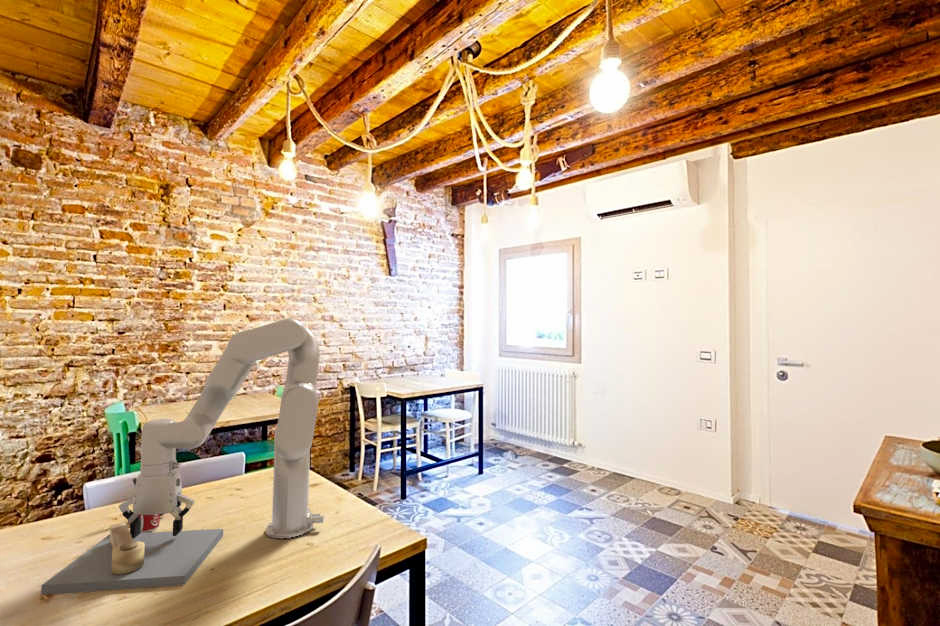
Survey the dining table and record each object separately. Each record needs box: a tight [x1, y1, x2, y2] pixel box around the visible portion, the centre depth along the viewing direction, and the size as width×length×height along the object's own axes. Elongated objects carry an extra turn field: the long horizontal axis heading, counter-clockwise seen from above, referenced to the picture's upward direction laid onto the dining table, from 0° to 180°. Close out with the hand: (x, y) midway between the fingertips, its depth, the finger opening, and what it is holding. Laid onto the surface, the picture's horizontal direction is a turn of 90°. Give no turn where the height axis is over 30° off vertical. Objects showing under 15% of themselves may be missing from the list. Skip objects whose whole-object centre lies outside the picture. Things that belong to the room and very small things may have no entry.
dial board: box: [40, 528, 224, 596], centre depth 112 cm, size 28×24×2 cm
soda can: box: [139, 514, 160, 533], centre depth 130 cm, size 5×5×12 cm
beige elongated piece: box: [109, 521, 145, 574], centre depth 111 cm, size 6×21×5 cm, turn 44°
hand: (156, 535), depth 119 cm, fingers open, 9 cm apart
